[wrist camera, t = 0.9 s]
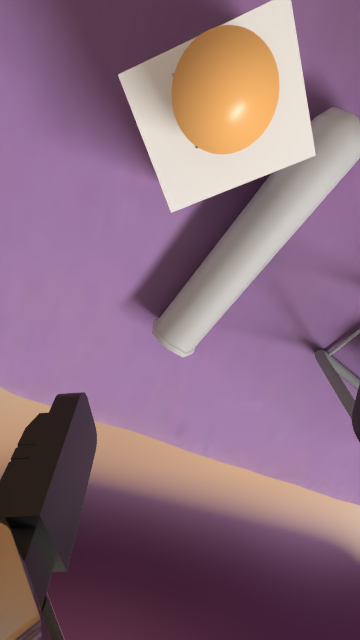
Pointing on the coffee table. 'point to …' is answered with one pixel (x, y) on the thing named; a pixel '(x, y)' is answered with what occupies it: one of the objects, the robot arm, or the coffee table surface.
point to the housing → (222, 169)
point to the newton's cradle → (334, 367)
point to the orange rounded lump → (225, 89)
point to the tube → (260, 232)
